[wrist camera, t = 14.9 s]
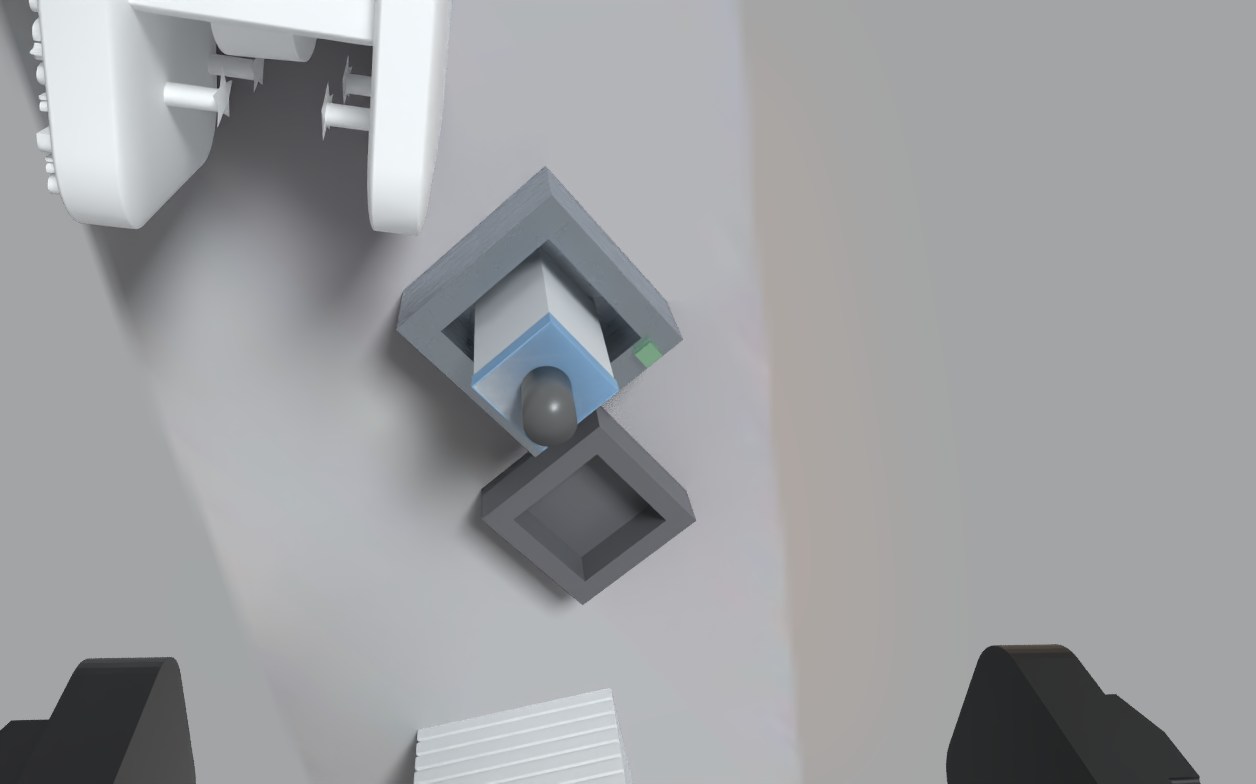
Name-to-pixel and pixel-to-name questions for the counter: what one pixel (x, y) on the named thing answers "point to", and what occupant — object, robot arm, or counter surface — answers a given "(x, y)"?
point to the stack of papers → (529, 745)
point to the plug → (540, 352)
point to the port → (523, 223)
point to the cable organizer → (226, 94)
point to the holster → (587, 506)
